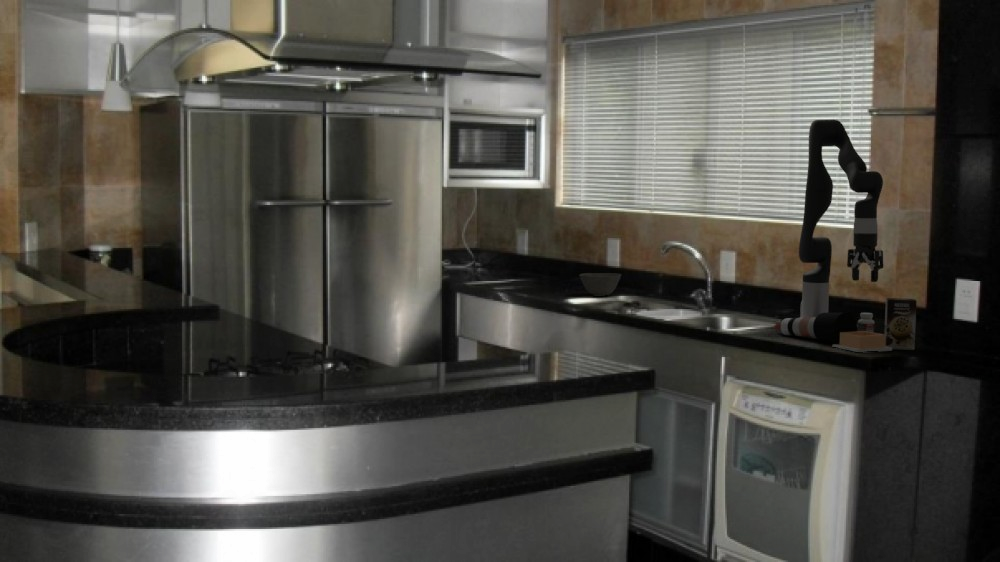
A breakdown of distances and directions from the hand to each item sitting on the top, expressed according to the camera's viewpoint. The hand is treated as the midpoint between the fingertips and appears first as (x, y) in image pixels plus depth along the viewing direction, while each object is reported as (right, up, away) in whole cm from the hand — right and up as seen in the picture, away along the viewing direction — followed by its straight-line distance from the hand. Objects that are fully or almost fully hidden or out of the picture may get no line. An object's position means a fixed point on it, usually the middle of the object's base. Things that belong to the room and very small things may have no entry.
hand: (864, 281), depth 397 cm
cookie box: (+9, -22, -8) cm, 25 cm away
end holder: (-4, -22, -10) cm, 24 cm away
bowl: (-75, -7, +144) cm, 163 cm away
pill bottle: (+2, -21, +5) cm, 21 cm away
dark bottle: (-15, -20, +12) cm, 28 cm away
